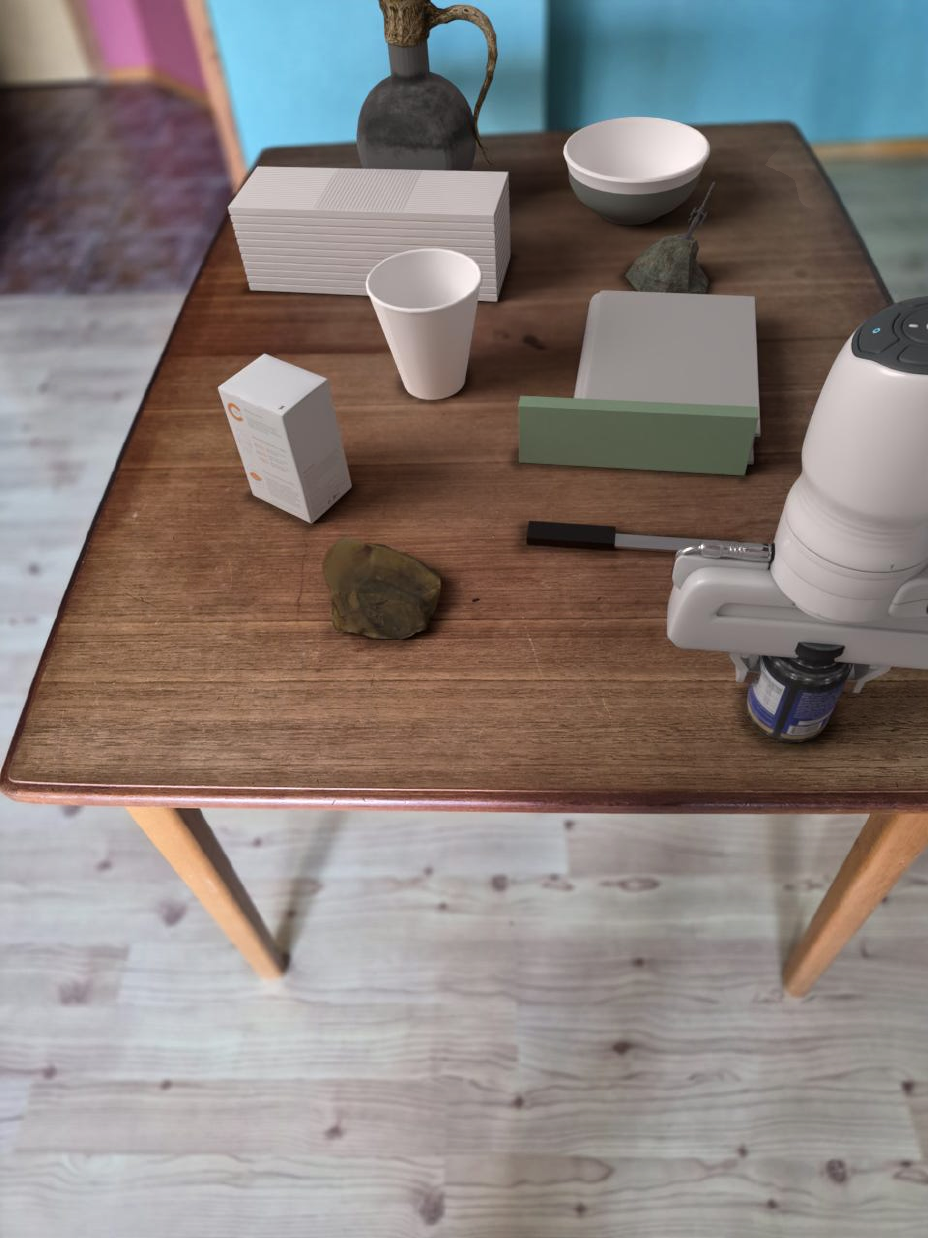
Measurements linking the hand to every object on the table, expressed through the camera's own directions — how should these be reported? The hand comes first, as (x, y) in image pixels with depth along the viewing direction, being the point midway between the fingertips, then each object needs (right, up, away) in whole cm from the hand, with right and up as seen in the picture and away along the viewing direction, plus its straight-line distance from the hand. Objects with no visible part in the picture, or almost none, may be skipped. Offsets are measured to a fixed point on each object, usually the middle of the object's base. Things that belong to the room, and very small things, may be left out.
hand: (796, 680), depth 66 cm
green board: (-8, +20, +22) cm, 31 cm away
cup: (-28, +31, +33) cm, 53 cm away
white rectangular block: (-3, +30, +30) cm, 42 cm away
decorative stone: (-32, +6, +13) cm, 35 cm away
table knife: (-10, +12, +16) cm, 22 cm away
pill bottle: (0, -3, +3) cm, 4 cm away
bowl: (-2, +60, +55) cm, 82 cm away
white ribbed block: (-35, +49, +48) cm, 77 cm away
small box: (-41, +17, +23) cm, 50 cm away
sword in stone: (0, +46, +43) cm, 63 cm away
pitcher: (-29, +62, +58) cm, 90 cm away
